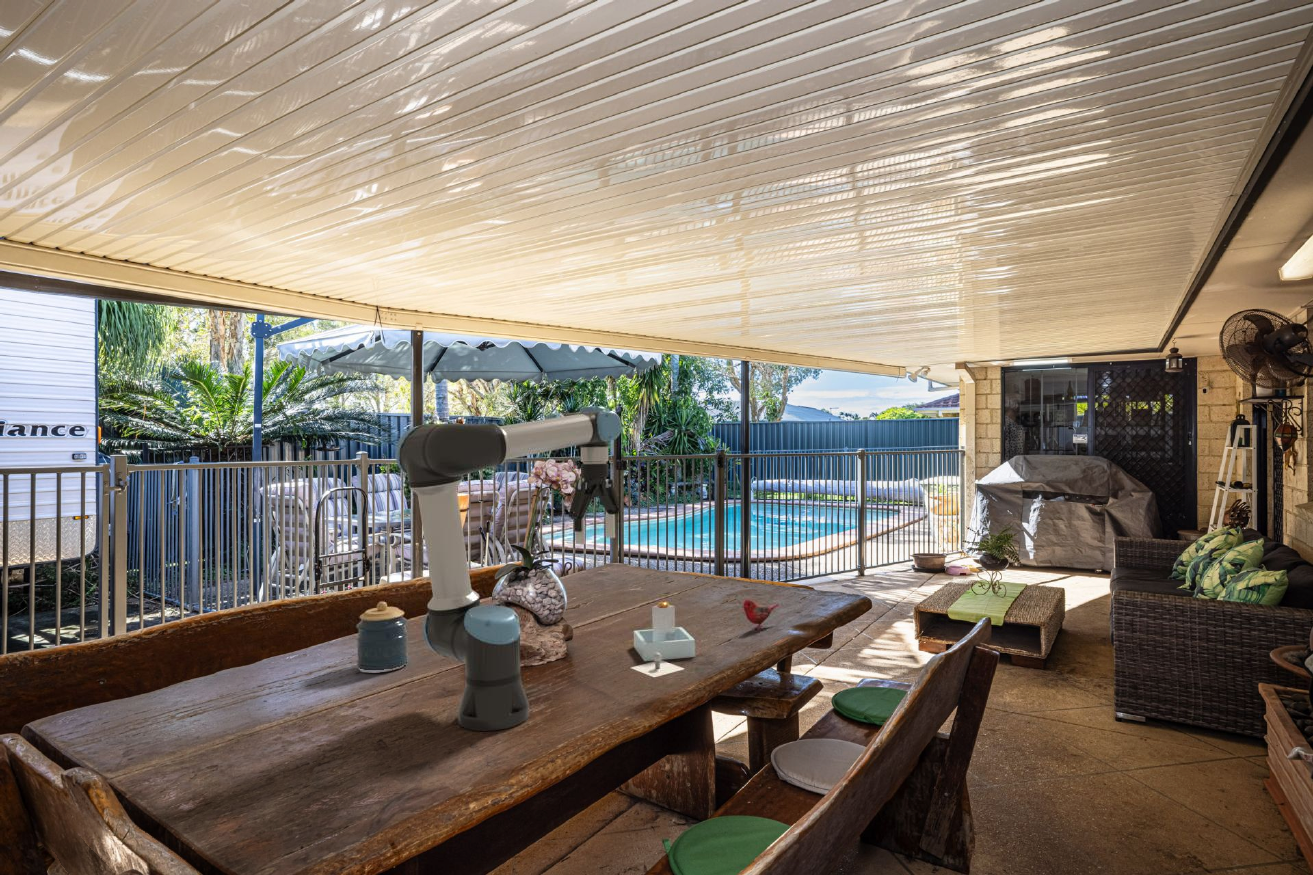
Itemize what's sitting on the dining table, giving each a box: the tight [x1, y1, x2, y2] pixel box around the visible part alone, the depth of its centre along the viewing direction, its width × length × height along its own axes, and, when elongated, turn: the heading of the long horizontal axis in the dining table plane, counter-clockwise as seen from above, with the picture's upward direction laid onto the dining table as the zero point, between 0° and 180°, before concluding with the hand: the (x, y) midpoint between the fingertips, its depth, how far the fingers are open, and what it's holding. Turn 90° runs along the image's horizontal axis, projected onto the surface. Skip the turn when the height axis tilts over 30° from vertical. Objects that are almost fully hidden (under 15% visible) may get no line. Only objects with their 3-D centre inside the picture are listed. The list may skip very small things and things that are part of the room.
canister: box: [355, 601, 409, 670], centre depth 197 cm, size 13×13×18 cm
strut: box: [651, 601, 676, 642], centre depth 201 cm, size 4×4×14 cm
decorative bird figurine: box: [742, 599, 779, 630], centre depth 230 cm, size 3×18×10 cm, turn 132°
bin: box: [633, 626, 696, 662], centre depth 201 cm, size 14×14×6 cm
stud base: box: [630, 653, 685, 678], centre depth 186 cm, size 10×10×6 cm
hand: (595, 540), depth 199 cm, fingers open, 13 cm apart
